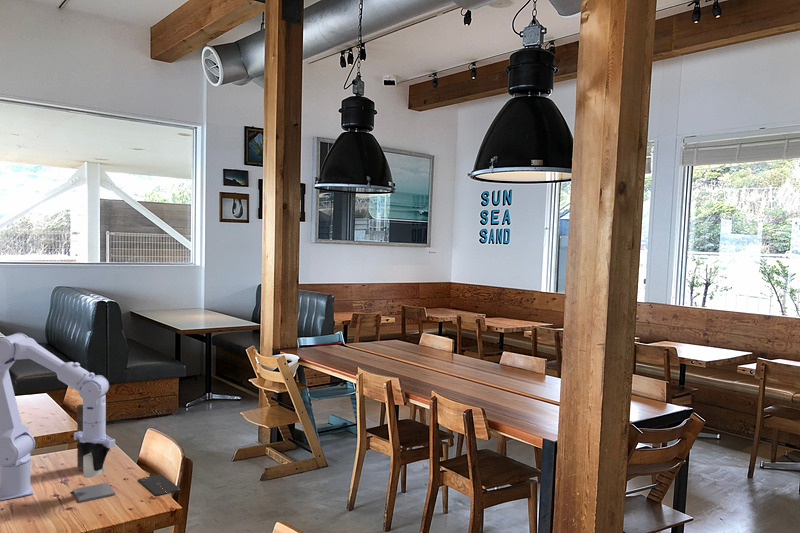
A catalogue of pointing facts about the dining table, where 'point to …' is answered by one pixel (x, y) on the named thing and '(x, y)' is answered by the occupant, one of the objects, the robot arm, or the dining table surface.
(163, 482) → the smartphone
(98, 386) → the robot arm
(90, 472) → the charger plug
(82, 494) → the slate coaster
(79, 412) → the candle
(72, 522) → the dining table surface
